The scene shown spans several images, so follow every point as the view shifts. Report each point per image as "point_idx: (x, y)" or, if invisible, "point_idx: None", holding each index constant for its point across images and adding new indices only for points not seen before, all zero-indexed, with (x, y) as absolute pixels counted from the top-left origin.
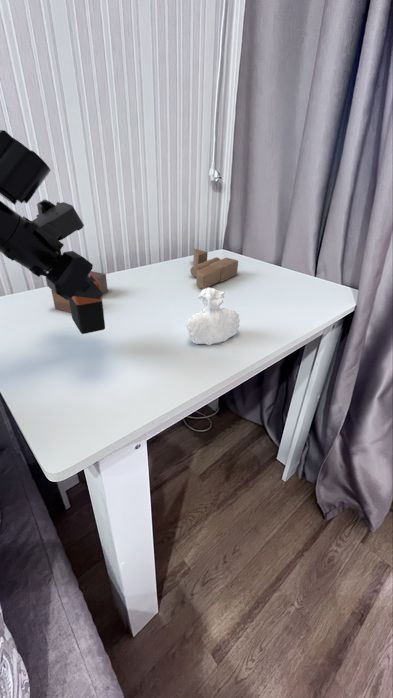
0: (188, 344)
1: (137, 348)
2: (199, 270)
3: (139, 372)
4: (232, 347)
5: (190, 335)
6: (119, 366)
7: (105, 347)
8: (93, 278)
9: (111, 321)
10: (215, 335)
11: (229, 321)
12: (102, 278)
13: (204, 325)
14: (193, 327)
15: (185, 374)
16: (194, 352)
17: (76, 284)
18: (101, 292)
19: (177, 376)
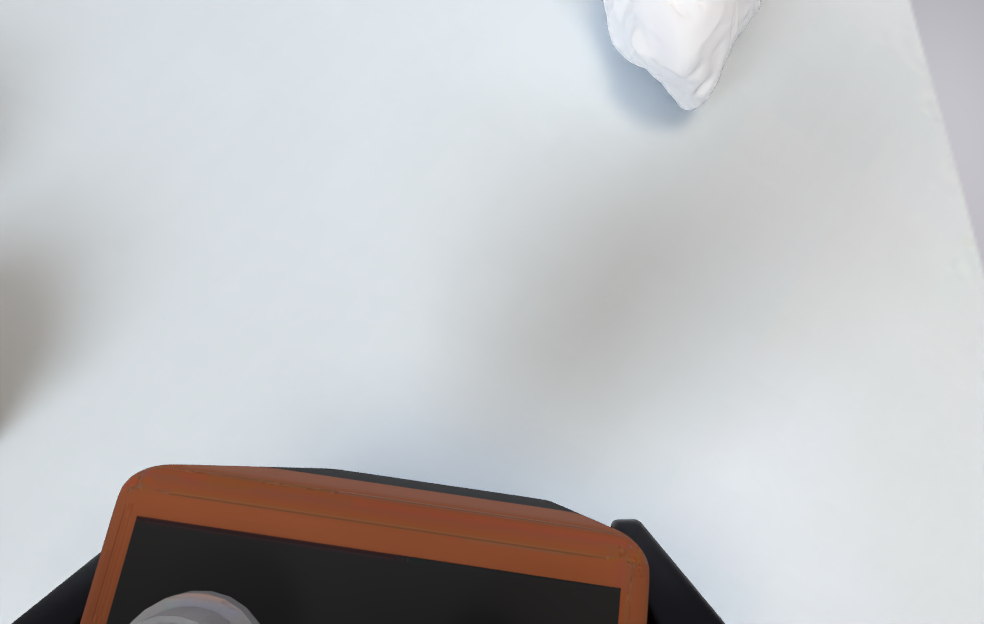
0: (659, 130)
1: (555, 338)
2: None
3: (745, 437)
4: (781, 4)
5: (699, 99)
6: (651, 492)
7: (452, 468)
8: (506, 577)
9: (222, 312)
10: (754, 10)
11: None
12: None
13: (738, 5)
14: (713, 56)
15: (859, 278)
16: (731, 149)
17: None
18: (661, 547)
19: (855, 314)
